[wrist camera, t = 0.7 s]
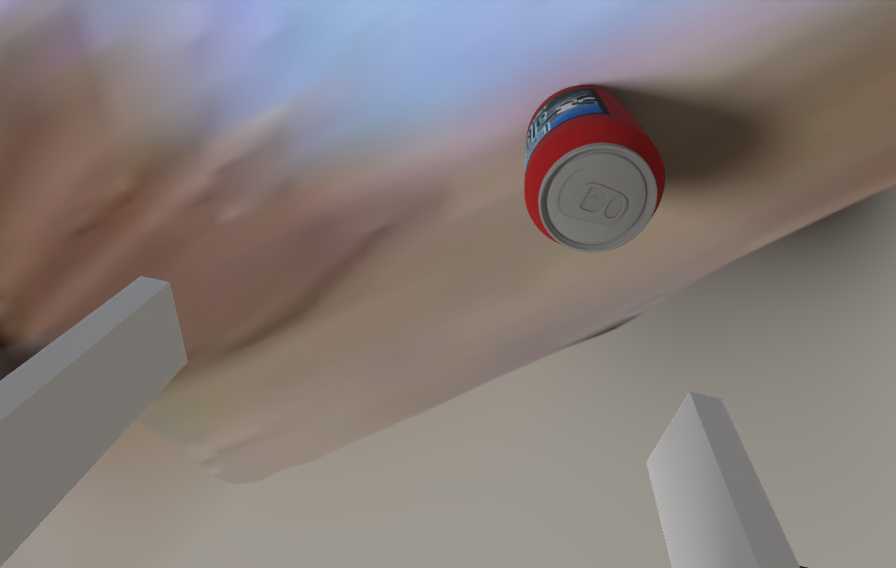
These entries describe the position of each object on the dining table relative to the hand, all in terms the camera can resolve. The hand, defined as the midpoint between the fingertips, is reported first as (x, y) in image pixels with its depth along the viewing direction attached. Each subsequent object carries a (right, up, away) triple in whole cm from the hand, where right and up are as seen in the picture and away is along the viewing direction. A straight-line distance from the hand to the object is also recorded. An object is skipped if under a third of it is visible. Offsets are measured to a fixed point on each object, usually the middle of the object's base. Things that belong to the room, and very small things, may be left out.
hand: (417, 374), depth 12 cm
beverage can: (+10, +13, +20) cm, 26 cm away
